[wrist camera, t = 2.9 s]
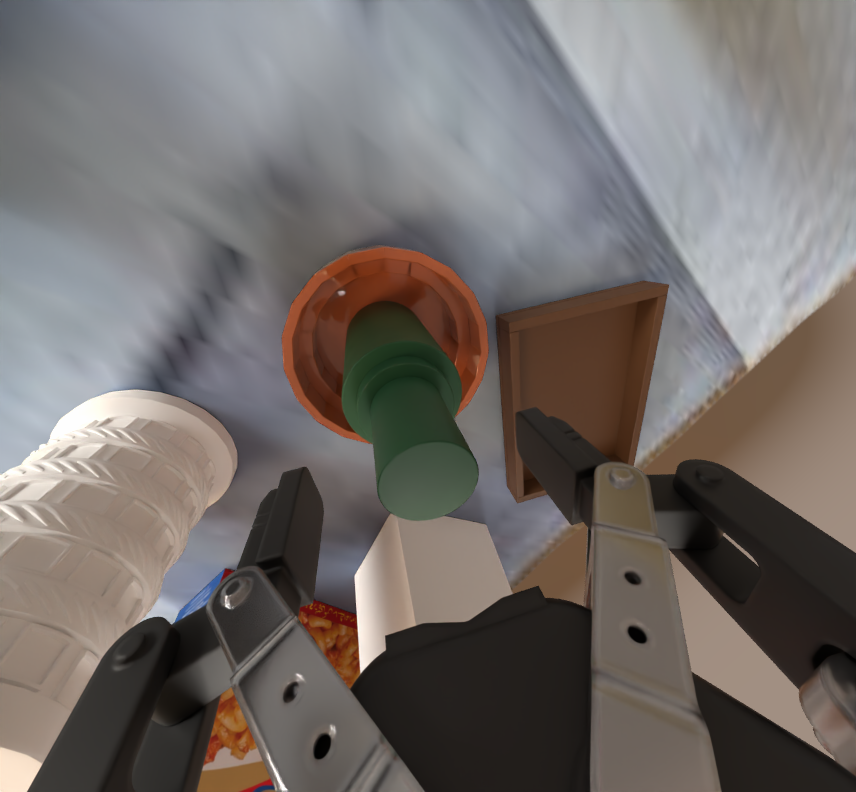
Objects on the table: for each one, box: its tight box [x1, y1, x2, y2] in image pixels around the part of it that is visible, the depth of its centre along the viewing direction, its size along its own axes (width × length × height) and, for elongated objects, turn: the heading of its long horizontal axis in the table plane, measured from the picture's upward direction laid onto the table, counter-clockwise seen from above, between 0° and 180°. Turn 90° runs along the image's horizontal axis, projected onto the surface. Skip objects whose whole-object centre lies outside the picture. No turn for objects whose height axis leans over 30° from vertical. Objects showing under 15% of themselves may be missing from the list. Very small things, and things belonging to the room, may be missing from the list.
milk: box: [355, 513, 513, 674], centre depth 26 cm, size 12×12×26 cm
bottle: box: [341, 301, 479, 521], centre depth 17 cm, size 6×6×16 cm
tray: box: [496, 281, 669, 503], centre depth 30 cm, size 20×14×3 cm
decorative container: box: [0, 389, 237, 792], centre depth 17 cm, size 12×12×18 cm
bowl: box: [282, 245, 489, 444], centre depth 22 cm, size 13×13×5 cm
